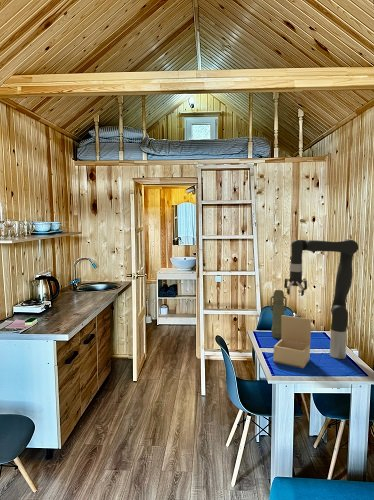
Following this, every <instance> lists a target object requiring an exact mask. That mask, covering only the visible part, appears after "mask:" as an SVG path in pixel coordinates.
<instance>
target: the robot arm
mask: <svg viewBox="0 0 374 500" xmlns="http://www.w3.org/2000/svg"><path fill="white" fill-rule="evenodd" d="M290 247H291V256H290V266H289V278H285V279H284V284H283V285H284V286H283V287H284V289H286V293H287V295H288V296H290V294H291V287H292V286H293V287H299V288H300V290H301V291H300V293H301V294H300V296H301V297H303V296H304V295H305V291H306V290H307V289H308V280H307V279H305V280H303V251H308V252H335V253H340V255H339V263H338V267H337V272H336V277H335V285H334V286H335V287H334V297H333V299H332V300H333V301H332V304H331V309H330V313H331V325H330V344H329V345H330V346H329V356H330V357H332V358H334V359H339V360H340V359H343V360H345V359H346V357H347V330H348V329H347V328H348V324H349V323H348V321H349V311H348V309H347V307H346V305H347V297H348V295H349V292H350V290H351V286H352V283H353V282H352V281H353V258H354V254H356V253H357V252H358V250H359V244H358V242H357V241H355V240H354V239H353V240H352V239H348V238H347V239H344V240H342V241H330V240H329V241H327V240H318V239H317V240H316V239H315V240H313V239H310V240H309V239H308V240H306V239H304V240H303V239H294V240H293V241H291V245H290ZM288 282H289V284H288ZM302 283H303V284H304V285H303V284H302Z"/></svg>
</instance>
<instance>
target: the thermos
mask: <svg viewBox="0 0 374 500" xmlns="http://www.w3.org/2000/svg"><path fill="white" fill-rule="evenodd" d="M269 299H270V300H269V301H270V303H269V307H270V308H269V309H270V311H271V314H272V326H271V337H272V338H274V339H281V315H285V312H286V311H287V310H288V309H287V306H288V302H287V301H288V298H287V297H286V296H285V293H284V291H283V290H281V289H276V290H274V292H273V295H272V296H271V297H270V298H269Z"/></svg>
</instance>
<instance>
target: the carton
mask: <svg viewBox="0 0 374 500" xmlns="http://www.w3.org/2000/svg"><path fill="white" fill-rule="evenodd" d="M310 352H311V343H310V344H307V343H301V342H295V341H289V340H284V339H281V338H280V339H279V341H278V342H277V343H275V345H274V346H273V363H276V364H281V365H285V366H291V367H295V368H300V369H304V368H305V367H306V365H307V364H308V363H309V362H310V357H311V356H310V355H311V353H310Z"/></svg>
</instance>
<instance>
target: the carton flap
mask: <svg viewBox="0 0 374 500" xmlns="http://www.w3.org/2000/svg"><path fill="white" fill-rule="evenodd" d="M311 322H312V319H311V318H306V317H302V316H301V315H300V314H295V315H294V316H292V315H291V316H289V315H285V314H284V315H281V338H280V340H281V339H283V340H289V341H295V342H301V343H307V344H310V345H311V335H312V334H311V327H312V326H311V325H312V323H311Z"/></svg>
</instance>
